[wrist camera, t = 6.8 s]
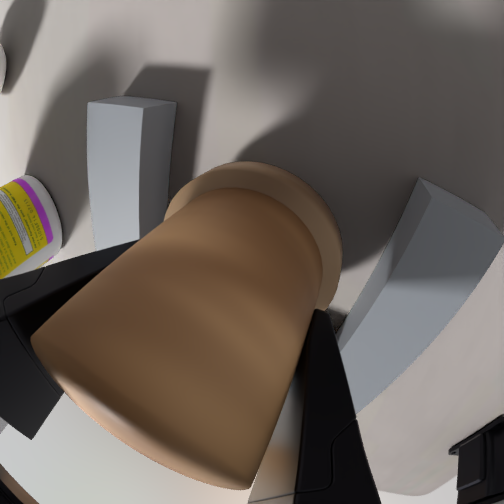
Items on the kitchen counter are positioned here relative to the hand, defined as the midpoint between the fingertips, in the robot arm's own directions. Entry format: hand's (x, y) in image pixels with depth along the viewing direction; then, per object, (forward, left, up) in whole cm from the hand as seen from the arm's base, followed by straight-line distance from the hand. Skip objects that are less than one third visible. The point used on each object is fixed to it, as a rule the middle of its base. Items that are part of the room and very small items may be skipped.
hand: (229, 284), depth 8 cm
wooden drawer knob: (0, 0, -2) cm, 2 cm away
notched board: (0, +2, -4) cm, 4 cm away
